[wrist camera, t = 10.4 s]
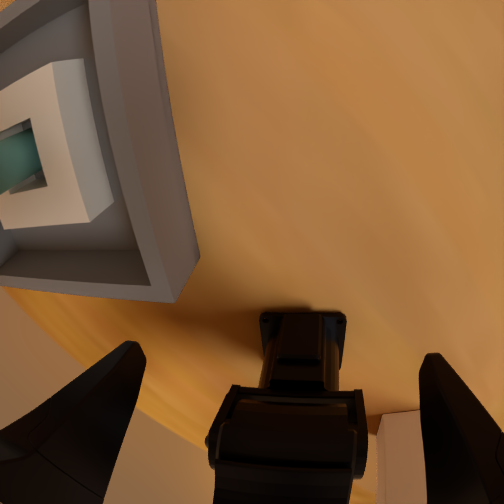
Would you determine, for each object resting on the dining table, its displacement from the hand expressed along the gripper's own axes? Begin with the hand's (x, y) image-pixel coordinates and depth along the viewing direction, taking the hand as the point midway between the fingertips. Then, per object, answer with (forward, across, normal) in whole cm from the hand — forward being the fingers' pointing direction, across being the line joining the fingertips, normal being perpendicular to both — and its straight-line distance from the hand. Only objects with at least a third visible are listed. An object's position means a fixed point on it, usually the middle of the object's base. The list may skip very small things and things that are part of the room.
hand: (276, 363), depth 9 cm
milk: (+12, -12, +27) cm, 32 cm away
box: (+12, +17, -6) cm, 22 cm away
